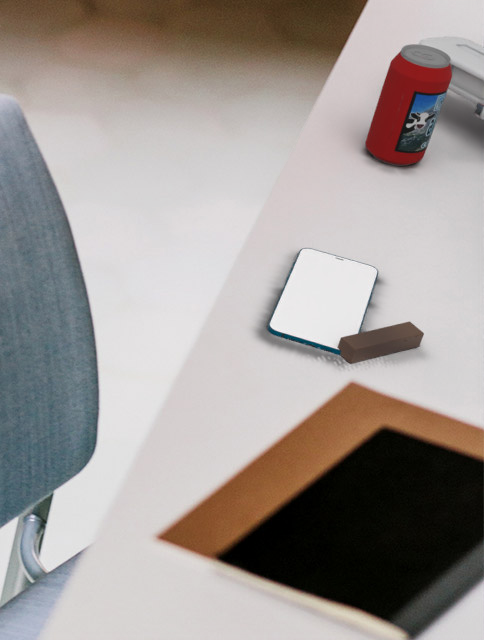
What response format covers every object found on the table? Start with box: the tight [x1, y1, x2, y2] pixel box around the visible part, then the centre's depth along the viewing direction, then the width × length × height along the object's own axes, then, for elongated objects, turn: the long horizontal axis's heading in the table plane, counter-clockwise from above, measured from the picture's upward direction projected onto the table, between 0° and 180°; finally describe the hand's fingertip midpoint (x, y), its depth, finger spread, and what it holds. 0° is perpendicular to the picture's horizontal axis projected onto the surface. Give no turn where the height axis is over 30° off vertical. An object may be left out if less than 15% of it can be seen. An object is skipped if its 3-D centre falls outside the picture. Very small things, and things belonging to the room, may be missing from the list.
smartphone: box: [266, 247, 379, 356], centre depth 111 cm, size 8×1×16 cm
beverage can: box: [365, 43, 452, 167], centre depth 132 cm, size 7×7×12 cm
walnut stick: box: [337, 321, 425, 364], centre depth 105 cm, size 8×2×2 cm, turn 117°
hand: (448, 93), depth 135 cm, fingers open, 8 cm apart
